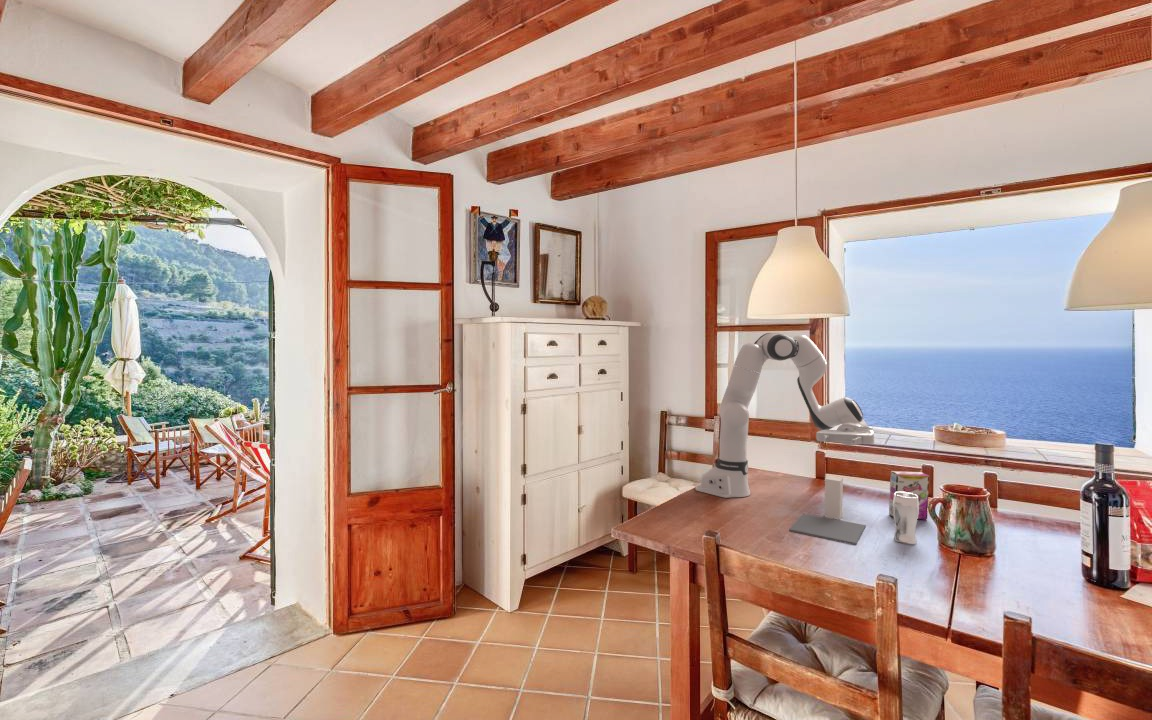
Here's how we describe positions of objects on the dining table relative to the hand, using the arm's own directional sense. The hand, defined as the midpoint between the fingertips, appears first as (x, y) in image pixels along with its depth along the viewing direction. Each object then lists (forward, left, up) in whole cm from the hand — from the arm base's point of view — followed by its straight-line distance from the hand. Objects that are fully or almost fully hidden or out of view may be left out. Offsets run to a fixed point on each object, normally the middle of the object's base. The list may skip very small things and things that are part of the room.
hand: (840, 440), depth 196 cm
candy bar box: (+22, +4, -26) cm, 35 cm away
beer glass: (+23, -23, -26) cm, 42 cm away
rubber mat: (+1, -26, -26) cm, 37 cm away
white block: (0, -11, -26) cm, 28 cm away
